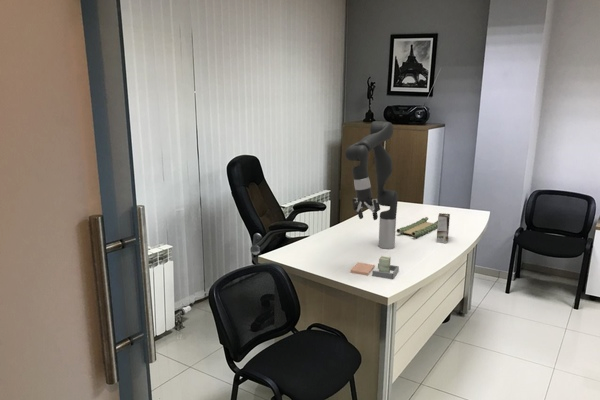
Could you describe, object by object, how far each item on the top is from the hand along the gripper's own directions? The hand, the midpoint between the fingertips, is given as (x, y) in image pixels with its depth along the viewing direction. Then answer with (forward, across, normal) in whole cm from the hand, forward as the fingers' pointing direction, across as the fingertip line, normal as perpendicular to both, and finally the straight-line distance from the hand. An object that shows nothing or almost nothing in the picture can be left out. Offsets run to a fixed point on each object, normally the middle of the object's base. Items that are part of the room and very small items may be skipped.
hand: (368, 219), depth 218 cm
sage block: (+28, -4, 0) cm, 28 cm away
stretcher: (+38, +23, -77) cm, 88 cm away
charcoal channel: (+28, -4, 0) cm, 28 cm away
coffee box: (+38, +2, -67) cm, 78 cm away
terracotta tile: (+26, +6, +4) cm, 27 cm away
